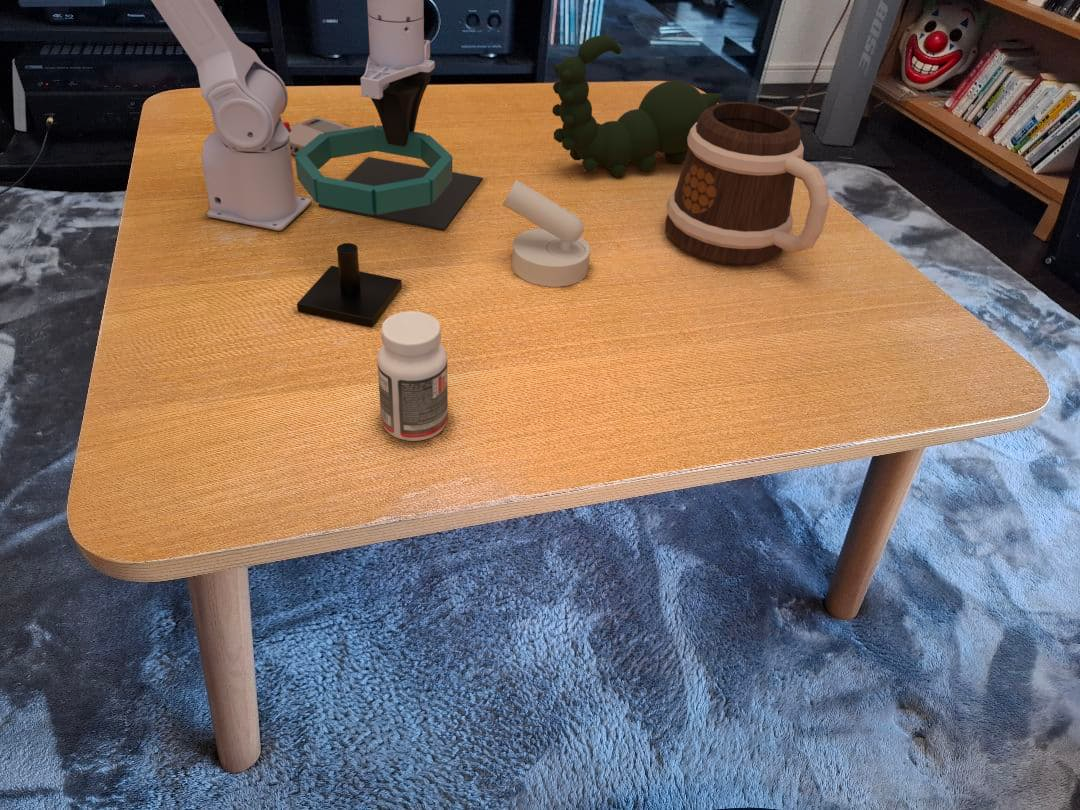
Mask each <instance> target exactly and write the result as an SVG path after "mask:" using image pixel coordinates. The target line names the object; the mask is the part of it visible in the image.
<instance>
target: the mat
mask: <svg viewBox="0 0 1080 810" xmlns="http://www.w3.org/2000/svg"><path fill="white" fill-rule="evenodd" d="M430 169H431V168H430V167H426V166H420V165H416V164H415V165H414V164H411V163H410V164H409V163H404V162H398V161H393V160H386V159H381V158H376V157H370V156H368V157H367V158H365V159H364V160H363V161H362V163H360V164H359V165H358V166H357V167H356V168H355V169H354V170H353V171H352V172H350V174H349V175H348V176H347V177H346V178H344V179H343V180H344V181H350V182H355V183H360V184H365V185H371V186H378V185H383V184H389V183H394V182H400V181H406V180H411V179H417V178H422V177H424V176H425V175H426V174H427V172H428V171H429V170H430ZM482 181H483V177H482V176H476V175H471V174H466V173H465V174H464V173H459V172H453V171H452V181H451V182H450V183H449V185H448V186H447V187H446V188H445V190H444V191H443V192H442V193H441V195H440V196H439V197H438V198H437V199H436V201H435V202H434V203H430V205H425V206H420V207H415V208H409V209H404V210H399V211H394V212H389V213H384V214H378V215H377V214H376V213H374V214H373V215H371V214H366V213H360V212H355V211H350V210H345V209H340V208H335V207H330V206H325V205H319V204H318V207H320V208H324V209H330V210H334V211H341V212H346V213H351V214H357V215H362V216H366V217H371V218H377V219H381V220H382V219H383V220H387V221H393V222H398V223H403V224H406V225H407V224H408V225H412V226H418V227H423V228H424V227H425V228H428V229H434V230H439V231H446V230H447V228H448V226H449V225H450V224H451V223H452V221H453V220H454V219H455V217H456V216H457V215H458V213H459V212H460V211H461V210H462V208H463V206H464V205H465V204H466V202H467V201H468V200H469V199H470V198H471V196H472V194H474V192H475V190H476V189H477V187H479V185H480V183H481V182H482Z"/></svg>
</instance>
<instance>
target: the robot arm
mask: <svg viewBox="0 0 1080 810" xmlns="http://www.w3.org/2000/svg"><path fill="white" fill-rule="evenodd" d="M150 1H151V3H152V4H153V5H154V7H155V8H156V10H157V11H158V13H159V14H160V15H161V17H162V18H163V20H164V22H165V23H166V24H167V26H168V28H169V29H170V31H171V32H172V34H173V35H174V36H175V38H176V39H177V41H178V42H179V44H180V45H181V47H182V48H183V50H184V51H185V53H186V54H187V56H188V57H189V59H190V60H191V61H192V63H193V64H194V66H195V68H196V71H197V75H198V82H199V87H200V92H201V96H202V97H203V99H204V100H205V102H206V103H207V105H208V106H209V109H210V111H211V116H212V122H213V126H214V129H215V131H212V132H211V133H210V134H209V135H208V136H207V138H206V139H205V141H204V142H203V147H202V150H201V151H202V153H201V168H202V171H203V177H204V182H205V188H206V193H207V199H208V204H209V210H207V212H206V215H207V217H208V218H213V219H218V220H223V221H227V222H232V223H237V224H243V225H249V226H253V227H259V228H262V229H268V230H273V231H278V232H279V231H283V230H284V229H285V228H287V226H288V225H289V224H291V223H292V221H294V220H295V219H296V218H297V217H298V216H299V215H300V214H302V212H303V211H305V210H306V209H307V208H308V207H309V206H310V205H311V204H312V198H309V197H303V196H299V195H297V191H296V184H295V173H294V166H293V157H292V154H291V147H290V139H289V132H288V130H287V129H286V127H285V126H284V124H283V123H284V121H283V120H282V117H281V116H282V114H283V113H284V112H285V110H286V108H287V105H288V102H289V93H288V89H287V87H286V84H285V82H284V81H283V79H282V78H281V77H280V76H279V74H277V73H276V72H275V71H274V70H272V69H270V68H269V67H268V66H267V65H265V64H264V62H263V61H262V60H261V59H260V57H259V56H258V54H257V52H256V51H255V50H254V49H252V48H251V47H250V46H248V45H247V44H245V43H243V42H242V41H241V40H240V39H239V38H238V37H237V35H236V34H235V32H234V31H233V29H232V27H231V26H230V24H229V22H228V21H227V19H226V18H225V16H224V15H223V13H222V11H221V10H220V8H219V6H218V4H217V3H216V2H215V0H150ZM424 3H425V2H424V0H366V4H367V5H366V6H367V26H368V27H367V28H368V44H369V46H368V47H369V55H368V57H367V62H366V66H365V71H364V74H363V75H362V76H361V77H360V91H361V97H362V98H369V99H370V100H371V101H372V103H373V105H374V107H375V109H376V111H377V114H378V117H379V119H380V123H381V126H383V130H384V133H385V137H386V140H387V143H388V144H392V145H397V146H403V147H404V146H405V145H406V144H407V140H408V135H409V131H413V132H415V130H416V124H417V120H418V116H419V115H418V114H419V111H420V110H419V109H420V105H421V102H422V99H423V97H424V94H425V91H426V89H427V87H428V85H429V83H430V81H431V74H430V72H432V71H433V70H434V69H435V68H436V63H435V60H431V59H430V58H431V41H430V40H429V39H425V32H424V31H425V27H424V26H425V17H424V13H425V11H424V9H425V7H424V5H425V4H424Z"/></svg>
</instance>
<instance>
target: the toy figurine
mask: <svg viewBox="0 0 1080 810" xmlns="http://www.w3.org/2000/svg"><path fill="white" fill-rule="evenodd" d="M607 52H613V53H614V54H616V55H620V54H621V53H622V48H621V46H620V45H619V43H618V42H617V40H615V39H614V38H612V37H610V36H608V35H602V34H601V35H594V36H592V37H590V38H588V39H586V40H585V41H583V42H582V43H581V44H580V46H579V48H578V51H577V57H576V56H568V57H566V58H564V59H562V61H561V62H558V63H556V64H555V65H554V67H553V72H554V74H556V75H558V78H559V80H560V81H556V82H554V83H553V85H552V89H553V91H554V93H555V94H556V95H558V98H559V100H560V101H561V102H560V103H557V104H555V105H553V106H552V114H553V115H554V116H556V117H559V118H560V120H561V123H562V127H558V128H556V129H555V130H554V131H553V139H554V140H555V141H556V142H557V143H561V145H562V146H561V147H562V149H564V150H566V151H569V155H570V158H571V159H572V160H573V161H581V160H582V163H581V167H582V168H583V170H584V171H585V172H586V173H587V172H588V173H592V172H594V171H595V170H597V169H598V165H599V166H601V167H603V168H605V169H609V170H610V174H611V175H612V176H614V177H615V178H618V177H622V176H624V174H625V173H626V165H627V164H629V163H630V162H636V164H637V166H638V167H639V169H640V170H642V171H647V172H649V171H651V170H653V169H654V168H655V167H656V164H657V161H658V159H657V157H656V154H657V153H662V154H664V157H665V159H667V161H669V162H670V163H672V164H683V163H684V161H685V158H686V155H687V151H688V148H689V146H688V140H687V137H688V135H689V132H690V129H691V128H692V127H693V126H694V124H695V123H697V122H698V120H699V117H700V115H701V114H702V113H703V111H704V110H706V109H708V108H710V107H711V106H714V105H716V104H719V103H720V102H721V101H722V100H723V98H724V94H723V93H721V92H720V93H717V92H713V93H711V92H709V93H708V92H707V93H706V92H705V93H703V92H702V93H701V92H700V91H699V89H698V88H696V87H695V86H693V85H692V84H690V83H688V82H685V81H683V80H682V81H681V80H668V81H664V82H662V83H659V84H657V85H656V86H654V87H652V88H651V89H649V91H647V93H646V94H645V95H644V96H643V98H642V100H641V101H640V104H639V106H638V108H634V109H630V110H628V111H626V112H624V113H623V114H622V115H620V117H618V118H617V120H609V121H605V122H603V123H598V122H597V120H596V118H595V117H594V116H593V106H592V103H591V101H590V100H589V98H588V97H589V94H590V87H589V83H588V81H587V79H586V75H587V69H586V65H587V64H591V63H593V62H594V61H596V60H597V59H598V58H599V57H600V56H601V55H602V54H605V53H607Z"/></svg>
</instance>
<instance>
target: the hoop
mask: <svg viewBox="0 0 1080 810" xmlns="http://www.w3.org/2000/svg"><path fill="white" fill-rule="evenodd" d="M351 128H352V129H345V130H338V131H331V132H325V133H324V134H319V135H318V136H317V137H316V138H314V139H313V140H312V141H311V142H310V143H308V144H307V145H306V146H305V147H304V148H302V149H301V150H300V151H299V152H297V153H296V154H295V155H294V162H295V170H296V171H295V172H296V178H297V181H298V182H299V183H300V184H301V186H302V187H303V188H304V190H305V191H306V192H307V194H308V195H309V196H310V198H311V200H313V201H314V203H316V204H318V206H319V205H325V206H330V207H335V208H340V209H345V210H350V211H355V212H360V213H366V214H371V215H373V214H374V213H376V214H377V215H378V214H384V213H389V212H394V211H399V210H404V209H409V208H415V207H420V206H425V205H430V203H434V202H435V201H436V199H437V198H438V197H439V196H440V195H441V193H442V192H443V191H444V190H445V188H446V187H447V186H448V185H449V183H450V182H451V181H452V172H453V155H452V154H451V153H450V152H449V151H448V150H446V148H444V147H443V146H442V145H441V144H440V143H439V142H438V141H437V140H436V139H435V138H434V137H432V136H431V135H430V134H428V135H427V133H425V132H424V133H423V132H417V131H414V132H413V131H409V135H408V140H407V144H406V145H405V146H404V147H403V146H397V145H392V144H388V143H387V140H386V137H385V133H384V130H383V126H382V125H380V124H377V125H376V126H375V125H366V126H359V127H351ZM373 152H378V153H379V152H380V153H385V154H391V155H395V156H401V157H408V158H411V159H418V160H421V161H422V162H423V163H424V164H425V165H426V166H428V168H431V169H430V170H429V171H428V172H427V174H426V175H425V176H424V177H422V178H417V179H411V180H406V181H400V182H394V183H389V184H383V185H378V186H371V185H365V184H360V183H355V182H350V181H344V180H345V179H339V178H333V177H328V176H325V175H323V174H322V173H321V172H320V170H321V168H322V167H323V166H324V165H326V164H327V163H328V162H329V161H330V160H332V159H335V158H336V159H337V158H342V157H348V156H354V155H361V154H367V153H373Z"/></svg>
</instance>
